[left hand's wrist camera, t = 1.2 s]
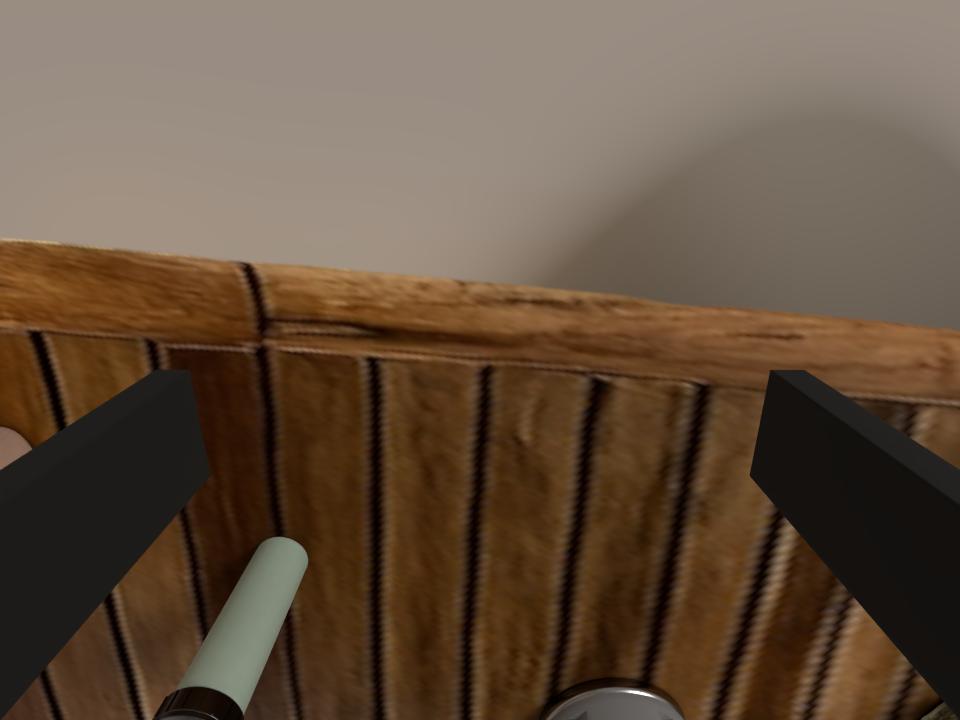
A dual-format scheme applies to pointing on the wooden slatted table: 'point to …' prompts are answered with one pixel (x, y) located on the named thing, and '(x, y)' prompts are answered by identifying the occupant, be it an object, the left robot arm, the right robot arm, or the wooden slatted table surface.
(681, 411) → the wooden slatted table surface
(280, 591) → the pale green cylinder
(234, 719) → the lid
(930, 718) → the fossil
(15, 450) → the anatomical model
